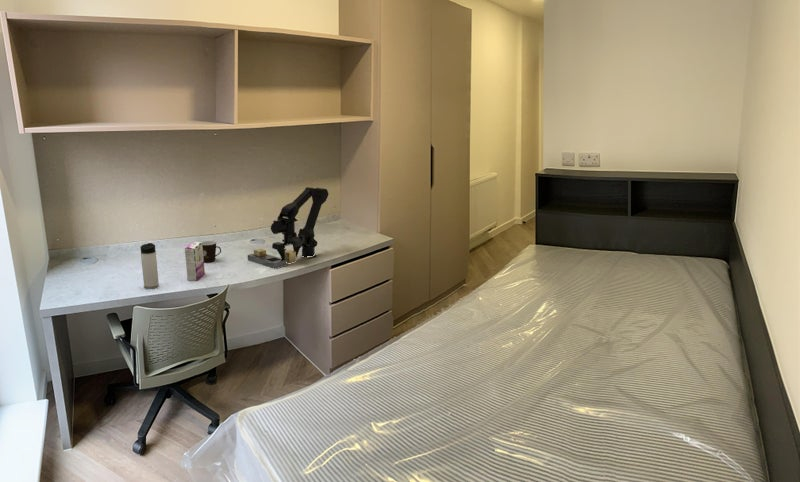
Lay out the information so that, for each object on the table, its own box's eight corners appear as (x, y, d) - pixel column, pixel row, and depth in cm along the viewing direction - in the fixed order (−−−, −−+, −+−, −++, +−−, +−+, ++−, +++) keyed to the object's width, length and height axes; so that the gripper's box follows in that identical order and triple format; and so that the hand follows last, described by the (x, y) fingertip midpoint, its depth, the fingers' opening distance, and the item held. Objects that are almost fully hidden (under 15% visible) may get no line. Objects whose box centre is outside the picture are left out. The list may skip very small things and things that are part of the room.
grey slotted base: (260, 257, 317) (259, 251, 317) (286, 265, 304) (286, 260, 303) (247, 260, 311) (247, 254, 311) (274, 269, 298) (274, 263, 297)
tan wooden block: (290, 260, 313) (290, 250, 311) (296, 262, 310) (295, 251, 308) (284, 262, 309) (283, 251, 308) (289, 264, 307) (289, 253, 305)
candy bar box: (195, 273, 288) (192, 241, 284) (205, 273, 288) (202, 241, 284) (186, 280, 277) (184, 247, 273) (197, 281, 277) (194, 248, 273)
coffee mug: (197, 260, 308) (196, 242, 306) (212, 257, 314) (211, 239, 312) (208, 265, 300) (206, 247, 298) (223, 262, 306) (222, 244, 304)
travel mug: (161, 284, 272) (157, 242, 267) (155, 289, 266) (152, 246, 261) (147, 284, 272) (143, 242, 267) (141, 288, 266) (137, 246, 260)
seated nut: (261, 259, 314) (260, 248, 312) (266, 260, 311) (265, 250, 310) (254, 261, 311) (253, 250, 309) (259, 262, 308) (259, 251, 306)
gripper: (285, 236, 293) (285, 266, 297) (312, 230, 307) (313, 258, 311) (271, 232, 300) (271, 261, 304) (298, 226, 314) (299, 254, 318)
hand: (289, 259), depth 309 cm, fingers open, 8 cm apart
